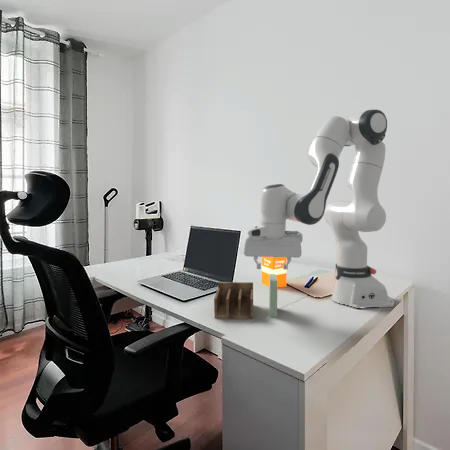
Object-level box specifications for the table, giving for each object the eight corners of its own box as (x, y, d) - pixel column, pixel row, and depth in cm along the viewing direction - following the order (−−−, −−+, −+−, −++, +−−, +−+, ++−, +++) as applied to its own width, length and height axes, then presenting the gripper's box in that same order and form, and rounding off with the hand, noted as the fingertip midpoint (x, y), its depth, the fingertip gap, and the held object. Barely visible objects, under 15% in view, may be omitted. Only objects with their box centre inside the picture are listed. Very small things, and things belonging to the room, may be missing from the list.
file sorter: (253, 304, 127) (253, 282, 126) (252, 318, 114) (252, 293, 113) (218, 304, 128) (218, 282, 127) (214, 318, 116) (213, 293, 114)
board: (275, 307, 124) (275, 273, 123) (277, 317, 115) (277, 281, 114) (269, 307, 125) (269, 273, 123) (270, 316, 116) (270, 281, 114)
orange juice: (272, 288, 146) (272, 244, 144) (261, 283, 154) (261, 241, 151) (286, 285, 150) (287, 242, 147) (275, 280, 158) (275, 239, 155)
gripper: (301, 229, 118) (300, 267, 120) (244, 229, 120) (244, 266, 122) (304, 232, 112) (302, 271, 114) (243, 231, 114) (243, 270, 116)
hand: (272, 268), depth 118 cm, fingers open, 8 cm apart
